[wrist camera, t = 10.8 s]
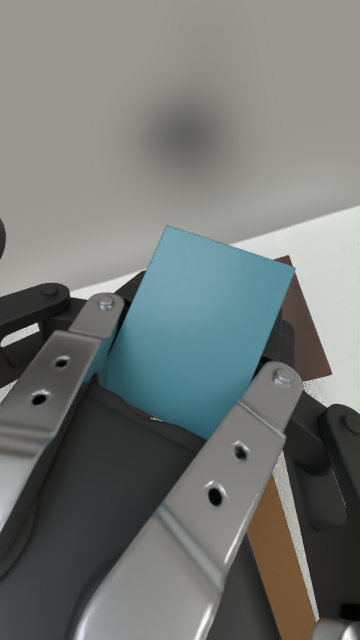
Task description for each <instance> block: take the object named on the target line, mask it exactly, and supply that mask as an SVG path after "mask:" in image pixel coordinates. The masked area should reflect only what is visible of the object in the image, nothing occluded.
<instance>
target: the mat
mask: <svg viewBox="0 0 360 640" xmlns="http://www.w3.org/2000/svg"><path fill="white" fill-rule="evenodd" d="M246 532H247V535H248V538H249V541H250V544H251V547H252V550H253V553H254V556H255V559H256V562H257V565H258V568H259V571H260V574H261V577H262V581H263V584H264V587H265V590H266V593H267V596H268V599H269V602H270V605H271V608H272V611H273V614H274V617H275V620H276V623H277V626H278V629H279V632H280V635H281V639H282V640H310V637H311V633H312V629H313V627H314V625H315V623H316V621H315V618H314V614H313V611H312V607H311V604H310V600H309V597H308V594H307V590H306V587H305V583H304V580H303V577H302V573H301V570H300V566H299V563H298V559H297V556H296V553H295V549H294V546H293V542H292V539H291V536H290V532H289V529H288V525H287V522H286V518H285V515H284V512H283V508H282V505H281V501H280V498H279V495H278V491H277V488H276V484H275V481H274V477H273V474H271V476H270V478H269V481H268V483H267V485H266V487H265V490H264V492H263V494H262V496H261V499H260V501H259V503H258V505H257V508H256V510H255V512H254V515H253V517H252V519H251V521H250V524H249V526H248V528H247V530H246Z"/></svg>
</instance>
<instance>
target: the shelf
mask: <svg viewBox="0 0 360 640" xmlns="http://www.w3.org/2000/svg"><path fill="white" fill-rule="evenodd" d="M274 260H275V261H278V262H281V263H284V264H287V265H290V266H292V263H291V260H290V257H289V255H287V256H284V257H281V258H277V259H274ZM281 307H282V308H283V317H282V319H283V320H285V321H288V322H290V323H291V325H292V326H293V328H294V330H295V346H294V347H295V371H296V372H297V373H298V375H299V376H300V378H301V379H302V382H304V381H308V380H312V379H316V378H321V377H325V376H329V375H332V372H331V369H330V366H329V364H328V361H327V358H326V355H325V353H324V350H323V347H322V344H321V342H320V339H319V336H318V334H317V331H316V328H315V325H314V323H313V320H312V317H311V315H310V312H309V309H308V306H307V304H306V301H305V298H304V295H303V293H302V290H301V287H300V285H299V282H298V279H297V276H296V274H295V272H294V275H293V277H292V280H291V282H290V285H289V287H288V290H287V292H286V295H285V297H284V300H283V302H282V305H281ZM129 405H130V404H129ZM130 406H131V407H132V408H133V409H134V410H135V411H136V412H137V413H139V414H140V415H141V416H142V417H144V418H148V419H149V418H154V416H152V415H150V414H148V413H146V412H144V411H142V410H140V409H138V408H136V407H134V406H132V405H130Z"/></svg>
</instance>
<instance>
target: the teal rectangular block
mask: <svg viewBox="0 0 360 640" xmlns="http://www.w3.org/2000/svg"><path fill="white" fill-rule="evenodd" d="M294 272H295V267H293V266H290V265H287V264H284V263H281V262H278V261H275V260H272V259H268V258H265V257H262V256H259V255H256V254H253V253H250V252H247V251H244V250H241V249H238V248H235V247H232V246H229V245H226V244H223V243H220V242H217V241H214V240H211V239H208V238H205V237H202V236H199V235H195V234H193V233H190V232H187V231H183V230H181V229H178V228H174V227H171V226H168V225H167V226H166V228H165V230H164V232H163V235H162V237H161V239H160V241H159V244H158V246H157V248H156V250H155V252H154V255H153V257H152V259H151V261H150V264H149V266H148V268H147V270H146V272H145V275H144V277H143V279H142V281H141V284H140V286H139V288H138V290H137V293H136V295H135V297H134V299H133V302H132V304H131V306H130V308H129V311H128V313H127V315H126V317H125V320H124V322H123V324H122V326H121V328H120V331H119V333H118V335H117V337H116V340H115V342H114V344H113V346H112V349H111V351H110V353H109V355H108V358H107V367H108V380H107V385H106V389H108V390H109V391H111V392H113V393H115V394H117V395H119V396H120V397H121V398H122V399H123V400H124V401H126V402H127V403H128V404H130V405H132V406H134V407H136V408H138V409H140V410H142V411H144V412H146V413H148V414H150V415H152V416H154V417H156V418H158V419H160V420H162V421H164V422H166V423H171V424H175V425H179V426H181V427H183V428H184V429H186V430H188V431H190V432H192V433H194V434H196V435H198V436H200V437H202V438H204V439H206V440H208V439H209V438H210V437H211V435H212V434H213V433H214V431H215V430H216V428H217V427H218V426H219V424H220V423H221V422H222V420H223V419H224V418H225V416H226V415H227V414H228V412H229V411H230V410H231V408H232V407H233V405H234V404H235V403H236V401H237V400H238V399H239V398H240V397H241V396H242V394H243V393H244V392H245V390H246V389H247V388H248V386H249V385H250V384H251V381H252V379H253V376H254V374H255V371H256V368H257V366H258V363H259V361H260V358H261V356H262V353H263V351H264V348H265V346H266V343H267V341H268V338H269V335H270V333H271V330H272V328H273V325H274V323H275V320H276V318H277V315H278V313H279V310H280V308H281V305H282V302H283V300H284V297H285V295H286V292H287V290H288V287H289V285H290V282H291V280H292V277H293V275H294Z"/></svg>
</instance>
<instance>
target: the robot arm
mask: <svg viewBox="0 0 360 640" xmlns="http://www.w3.org/2000/svg"><path fill="white" fill-rule="evenodd" d="M145 272H146V270H145V271H142V272H140V273H139V274H137V275H136V276H135V277H134V278H132V279H131V280H130V281H128V282H127V283H126V284H125V285H123V286H122V287H121V288H119V289H118V290H117V291H116V292H114V293H98V294H95V295H93V296H92V297H90V298H89V300H85V299H79V298H73V297H70V292H69V289H68V288H67V287H66V286H64V285H62V284H58V283H45V284H40V285H37V286H35V287H31V288H28V289H25V290H22V291H19V292H15V293H12V294H9V295H6V296H2V297H0V343H1V341H2V339H3V338H4V337H5V336H7V335H9V334H11V333H13V332H16V331H18V330H21V329H23V328H25V327H28V326H30V325H32V324H35V323H38V327H39V330H40V331H38V332H36V333H34V334H32V335H29V336H27V337H25V338H23V339H21V340H18V341H16V342H14V343H12V344H10V345H7V346H5V347H1V346H0V389H1V388H2V387H4V386H6V385H8V384H10V383H11V382H13V381H15V380H17V379H18V381H17V382H16V383H15V385H14V386H13V387H12V389H11V390H10V391H9V393H8V394H7V395H6V397H5V398H4V399H3V401H2V402H1V403H0V640H282V639H281V635H280V632H279V629H278V626H277V623H276V620H275V617H274V614H273V611H272V608H271V605H270V602H269V599H268V596H267V593H266V590H265V587H264V584H263V581H262V577H261V574H260V571H259V568H258V565H257V562H256V559H255V556H254V553H253V550H252V547H251V544H250V541H249V538H248V535H247V532H246V530H247V528H248V526H249V524H250V521H251V519H252V517H253V515H254V512H255V510H256V508H257V505H258V503H259V501H260V499H261V496H262V494H263V492H264V490H265V487H266V485H267V483H268V481H269V478H270V476H271V474H272V471H273V469H274V467H275V465H276V462H277V460H278V458H279V456H280V453H281V451H284V458H285V462H286V467H287V471H288V476H289V480H290V485H291V490H292V494H293V499H294V503H295V508H296V513H297V517H298V522H299V526H300V531H301V535H302V540H303V545H304V549H305V554H306V558H307V563H308V568H309V572H310V577H311V581H312V586H313V591H314V595H315V600H316V604H317V609H318V613H319V618H320V619H319V620H318V621H317V622H316V623H315V625H314V627H313V629H312V633H311V637H310V640H360V414H359V413H358V412H356V411H355V410H353V409H351V408H350V407H347V406H345V405H342V404H333V405H331V406H329V407H328V408H327V407H325V406H324V405H322V404H321V403H320V402H318V401H317V400H315V399H314V398H312V397H311V396H310V395H309V394H307V393H306V392H305V391H304V390H303V382H302V379H301V378H300V376H299V375H298V373H297V372H296V371H295V347H294V346H295V330H294V328H293V326H292V325H291V323H290V322H288V321H285V320H283V319H282V317H283V308H282V307H281V308H280V310H279V313H278V315H277V318H276V320H275V323H274V325H273V328H272V330H271V333H270V335H269V338H268V341H267V343H266V346H265V348H264V351H263V353H262V356H261V358H260V361H259V363H258V366H257V368H256V371H255V374H254V376H253V379H252V381H251V384H250V385H249V386H248V388H247V389H246V390H245V392H244V393H243V394H242V396H241V397H240V398H239V399H238V400H237V401H236V403H235V404H234V405H233V407H232V408H231V410H230V411H229V412H228V414H227V415H226V416H225V418H224V419H223V420H222V422H221V423H220V424H219V426H218V427H217V428H216V430H215V431H214V433H213V434H212V435H211V437H210V438H209V439H208V440H206V439H204V438H202V437H200V436H198V435H196V434H194V433H192V432H190V431H188V430H186V429H184V428H183V427H181V426H179V425H175V424H171V423H166V422H161V421H157V420H152V419H148V418H144V417H142V416H141V415H140V414H139V413H137V412H136V411H135V410H134V409H133V408H132V407H131V406H130V405H129V404H128V403H127V402H126V401H124V400H123V399H122V398H121V397H120V396H119V395H117V394H115V393H113V392H111V391H109V390H108V389H106V385H107V380H108V367H107V358H108V355H109V353H110V351H111V349H112V346H113V344H114V342H115V340H116V337H117V335H118V333H119V331H120V328H121V326H122V324H123V322H124V320H125V317H126V315H127V313H128V311H129V308H130V306H131V304H132V302H133V299H134V297H135V295H136V293H137V290H138V288H139V286H140V284H141V281H142V279H143V277H144V275H145ZM333 472H334V473H333ZM334 474H335V476H334ZM335 477H336V478H335ZM336 480H337V481H336ZM337 483H338V484H337ZM338 486H339V487H338ZM339 488H340V490H339ZM340 491H341V493H340ZM341 494H342V496H341ZM342 497H343V498H342ZM343 500H344V501H343ZM344 503H345V504H344ZM345 506H346V507H345Z"/></svg>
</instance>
